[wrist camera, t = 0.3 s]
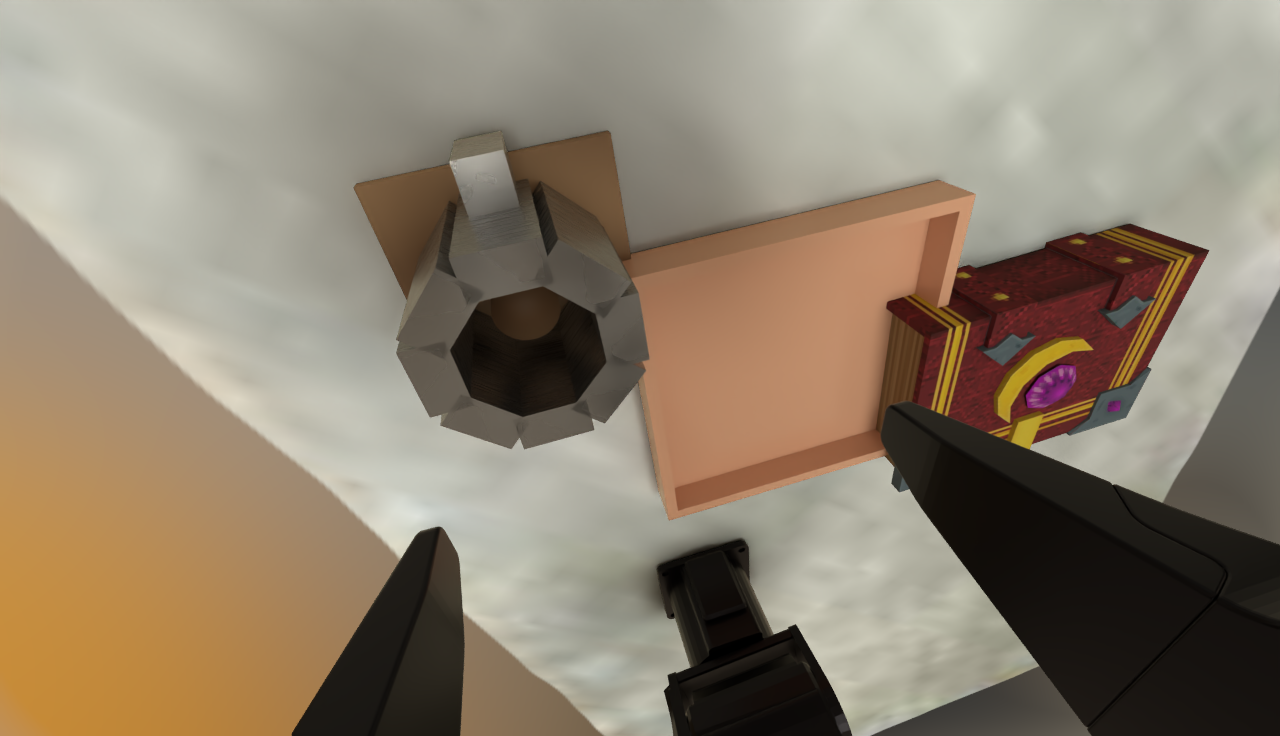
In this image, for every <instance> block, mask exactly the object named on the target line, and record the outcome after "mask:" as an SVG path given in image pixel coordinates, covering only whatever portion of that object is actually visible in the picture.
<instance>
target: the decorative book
mask: <svg viewBox="0 0 1280 736" xmlns="http://www.w3.org/2000/svg"><path fill="white" fill-rule="evenodd" d="M1208 252H1209V250H1207V249H1204V248H1201V247H1198V246H1195V245H1192V244H1189V243H1186V242H1183V241H1180V240H1177V239H1174V238H1171V237H1168V236H1165V235H1162V234H1159V233H1156V232H1153V231H1150V230H1147V229H1144V228H1141V227H1138V226H1135V225H1132V224H1128V225H1124V226H1121V227H1118V228H1114V229H1111V230H1107V231H1104V232H1101V233H1097V234H1094V235H1090V236H1089V235H1086V234H1084V233H1081V232H1080V233H1077V234H1074V235H1070V236H1067V237H1063V238H1060V239H1056V240H1053V241H1050V242H1046V245H1045V248H1044V249H1042V250H1039V251H1035V252H1032V253H1029V254H1025V255H1022V256H1018V257H1015V258H1012V259H1008V260H1005V261H1001V262H998V263H994V264H991V265H988V266H984V267H981V268H977V269H976V268H974V267H972V266H970V265H967V266H964V267H960V268H957V272H956V276H955V280H954V284H953V288H952V292H951V296H950V300H949V304H948V305H946V306H943V307H939V308H936V307H934V306H933V305H931V304H930V303H928V302H927V301H925V300H924V299H922V298H921V297H919V296H918V295H916V294H912V295H908V296H905V297H901V298H898V299H895V300H891V301H888V302H887V306H886V309H887V310H889V311H890V312H891V313H893V314H892V321H891V328H890V335H889V341H888V348H887V355H886V362H885V369H884V376H883V383H882V390H881V397H880V404H879V411H878V418H877V425H876V430H877V431H878V432H879V433H880V434H881V428H882V424H883V419H884V414H885V410H886V408H887V407H888V405H890V404H894V403H898V402H901V401H911V402H913V403H916V404H918V405H921V406H923V407H926V408H928V409H931V410H933V411H936V412H938V413H941V414H943V415H946V416H948V417H950V418H953V419H955V420H958V421H960V422H963V423H965V424H968V425H970V426H973V427H975V428H978V429H980V430H983V431H985V432H987V433H990V434H992V435H995V436H997V437H1000V438H1002V439H1005V440H1007V441H1010V442H1012V443H1015V444H1017V445H1020V446H1022V447H1025V448H1027V449H1030V447H1031V445H1032V444H1034V443H1037V442H1040V441H1043V440H1046V439H1049V438H1052V437H1055V436H1058V435H1061V434H1064V433H1067V434H1068V435H1069V436H1070V435H1073V434H1076V433H1079V432H1082V431H1086V430H1089V429H1092V428H1095V427H1098V426H1101V425H1104V424H1107V423H1111V422H1114V421H1117V420H1120V419H1123V418H1126V417H1127V415H1128V413H1129V411H1130V409H1131V407H1132V405H1133V403H1134V401H1135V399H1136V398H1137V396H1138V394H1139V392H1140V390H1141V388H1142V386H1143V384H1144V382H1145V380H1146V379H1147V377H1148V375H1149V373H1150V371H1151V368H1149V367H1147V366H1148V364H1149V363H1150V361H1151V359H1152V357H1153V355H1154V353H1155V351H1156V349H1157V348H1158V346H1159V344H1160V342H1161V340H1162V338H1163V336H1164V335H1165V333H1166V331H1167V329H1168V327H1169V325H1170V323H1171V321H1172V320H1173V318H1174V316H1175V314H1176V312H1177V310H1178V308H1179V306H1180V305H1181V303H1182V301H1183V299H1184V297H1185V295H1186V293H1187V291H1188V290H1189V288H1190V286H1191V284H1192V282H1193V280H1194V278H1195V276H1196V275H1197V273H1198V271H1199V269H1200V267H1201V265H1202V263H1203V262H1204V260H1205V258H1206V256H1207V254H1208ZM885 457H886V458H887V459H888V460H889V461H890V463H891V464H892V465H893V466H894V473H893V478H892V485H893V486H894V487H895V488H896V489H897V490H898V492H902V491H905V490H908V489H909V487H908V486H907V484H906V482H905V481H904V479H903V478H902V476H901V474H900V473H899V471H898V469H897V468H896V466H895V464H894V463H893V461H892V459H891V458H890V456H889V455H886V456H885Z"/></svg>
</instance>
